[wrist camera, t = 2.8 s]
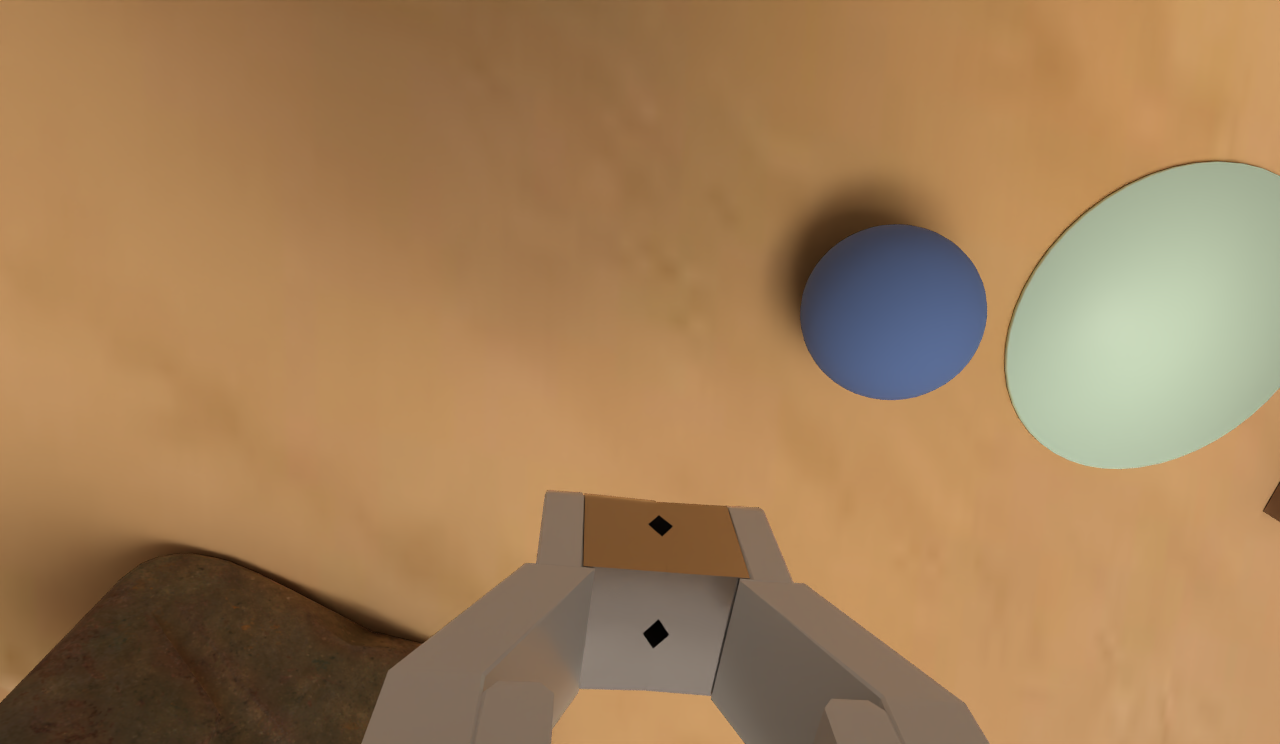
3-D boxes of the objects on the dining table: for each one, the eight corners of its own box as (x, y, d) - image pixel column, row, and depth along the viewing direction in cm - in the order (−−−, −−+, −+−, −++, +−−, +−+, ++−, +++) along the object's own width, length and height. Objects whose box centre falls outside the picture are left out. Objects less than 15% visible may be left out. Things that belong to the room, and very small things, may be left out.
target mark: (1077, 137, 24) (1080, 138, 24) (1389, 186, 26) (1395, 187, 26) (962, 452, 29) (964, 454, 29) (1230, 478, 31) (1234, 481, 30)
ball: (801, 200, 25) (860, 232, 19) (955, 221, 25) (1056, 258, 20) (766, 353, 27) (811, 421, 21) (909, 369, 27) (988, 439, 22)
